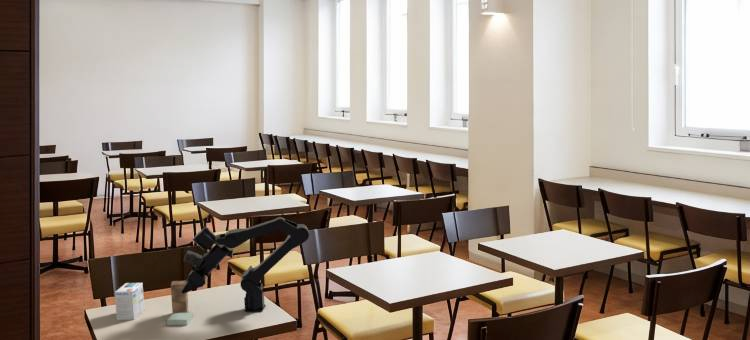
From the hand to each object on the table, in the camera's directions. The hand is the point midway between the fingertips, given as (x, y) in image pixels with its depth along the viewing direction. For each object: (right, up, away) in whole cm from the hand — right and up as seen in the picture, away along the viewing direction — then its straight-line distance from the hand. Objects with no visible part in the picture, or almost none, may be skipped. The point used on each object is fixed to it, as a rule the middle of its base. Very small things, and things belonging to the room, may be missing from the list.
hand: (183, 289), depth 252 cm
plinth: (+1, -10, -6) cm, 12 cm away
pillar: (-1, -9, +1) cm, 10 cm away
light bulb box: (-20, -10, +2) cm, 22 cm away
